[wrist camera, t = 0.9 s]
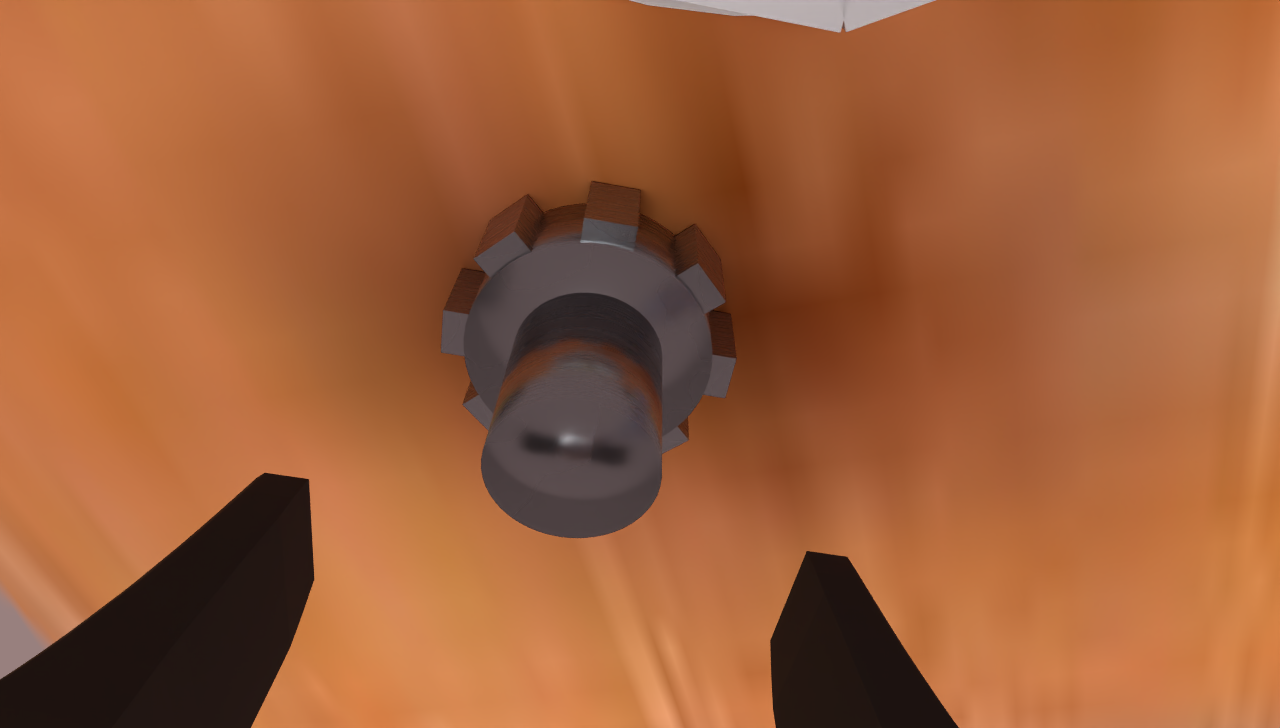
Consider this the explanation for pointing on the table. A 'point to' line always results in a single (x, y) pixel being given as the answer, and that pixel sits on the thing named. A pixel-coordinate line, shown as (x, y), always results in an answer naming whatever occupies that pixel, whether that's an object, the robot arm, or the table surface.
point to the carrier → (800, 10)
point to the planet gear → (586, 356)
